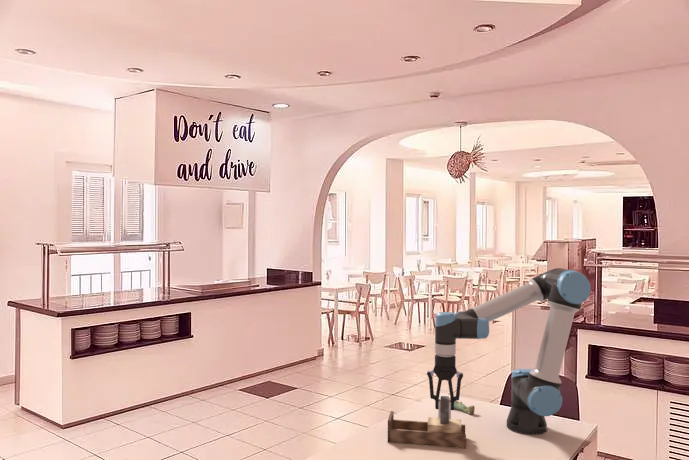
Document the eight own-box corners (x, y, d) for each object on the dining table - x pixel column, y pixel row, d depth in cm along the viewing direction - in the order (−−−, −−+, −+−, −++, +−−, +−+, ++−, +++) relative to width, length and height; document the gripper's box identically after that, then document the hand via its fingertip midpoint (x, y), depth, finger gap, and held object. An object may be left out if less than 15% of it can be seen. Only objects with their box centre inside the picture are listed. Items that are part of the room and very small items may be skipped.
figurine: (464, 416, 234) (464, 407, 234) (444, 405, 248) (444, 397, 248) (475, 414, 236) (475, 405, 236) (455, 404, 250) (455, 395, 250)
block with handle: (461, 435, 209) (461, 395, 209) (461, 443, 201) (461, 402, 201) (428, 433, 211) (428, 393, 211) (427, 441, 203) (427, 399, 203)
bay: (465, 437, 210) (465, 416, 210) (465, 448, 199) (466, 426, 199) (390, 431, 215) (391, 410, 215) (387, 442, 204) (387, 420, 204)
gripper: (467, 353, 208) (466, 416, 208) (423, 351, 211) (423, 413, 211) (467, 358, 201) (467, 423, 201) (422, 355, 204) (422, 420, 204)
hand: (444, 418), depth 206 cm, fingers closed on block with handle, 3 cm apart
